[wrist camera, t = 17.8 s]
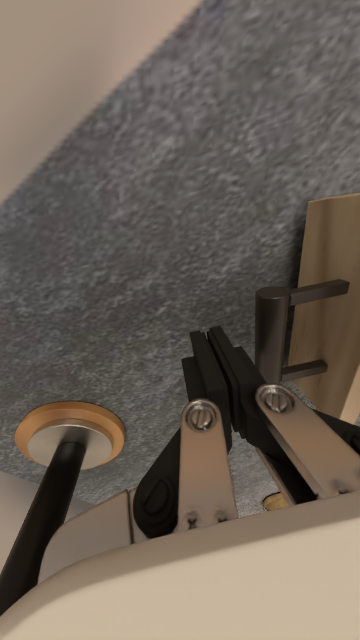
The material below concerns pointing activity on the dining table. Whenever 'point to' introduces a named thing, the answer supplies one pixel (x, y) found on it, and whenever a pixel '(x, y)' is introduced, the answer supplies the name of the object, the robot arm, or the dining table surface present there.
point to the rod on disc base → (50, 497)
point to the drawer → (318, 313)
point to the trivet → (70, 412)
